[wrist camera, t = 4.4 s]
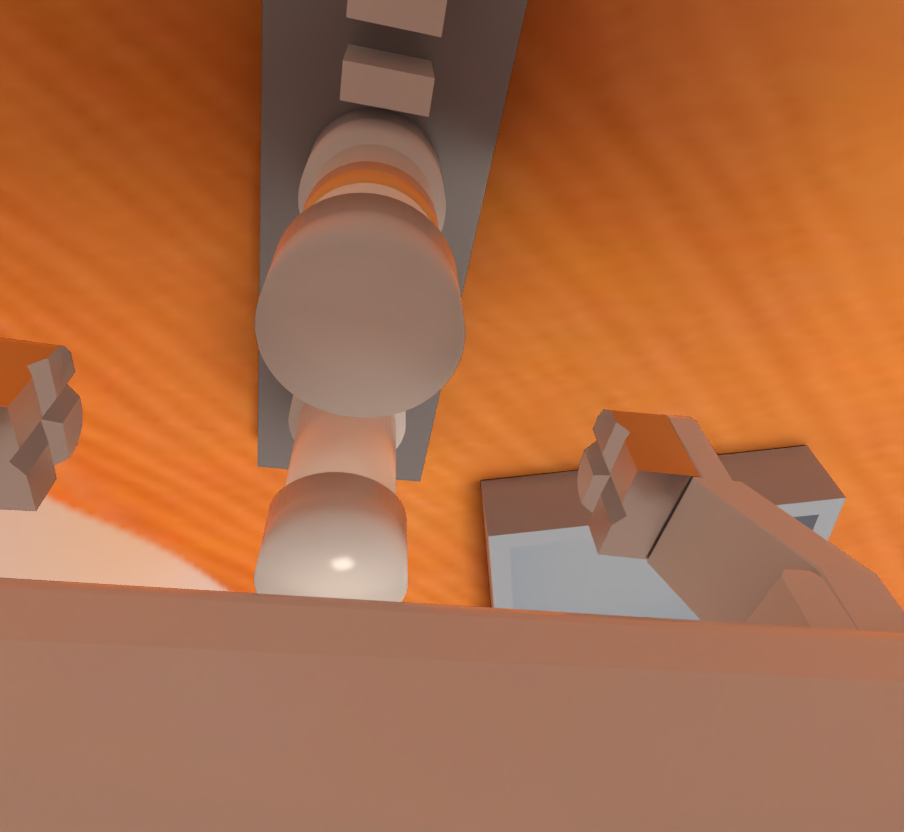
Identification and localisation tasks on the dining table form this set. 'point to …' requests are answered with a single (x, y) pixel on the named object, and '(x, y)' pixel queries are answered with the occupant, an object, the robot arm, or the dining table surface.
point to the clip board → (389, 88)
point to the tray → (610, 577)
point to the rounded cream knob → (337, 511)
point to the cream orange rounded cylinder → (364, 274)
